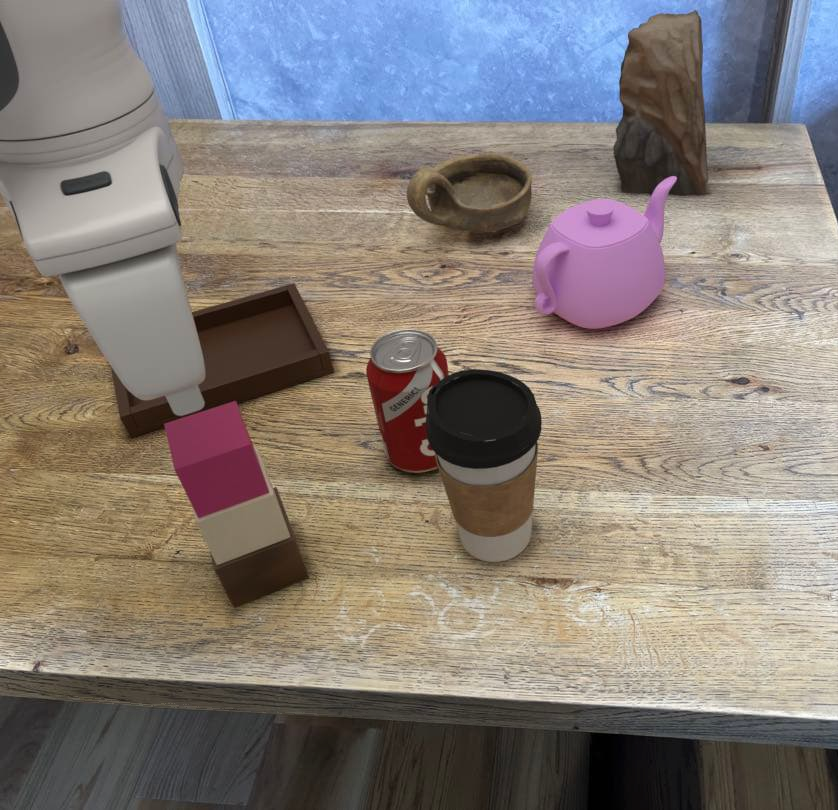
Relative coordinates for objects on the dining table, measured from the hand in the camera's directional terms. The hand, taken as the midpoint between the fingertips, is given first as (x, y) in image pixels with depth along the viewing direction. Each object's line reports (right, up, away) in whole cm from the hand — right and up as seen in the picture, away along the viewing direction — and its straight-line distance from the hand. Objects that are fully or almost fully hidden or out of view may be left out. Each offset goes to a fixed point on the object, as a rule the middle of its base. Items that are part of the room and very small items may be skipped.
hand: (177, 361), depth 52 cm
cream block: (0, -12, +11) cm, 16 cm away
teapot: (+30, +9, +41) cm, 52 cm away
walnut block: (+1, -16, +14) cm, 21 cm away
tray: (-10, +1, +34) cm, 35 cm away
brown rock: (+40, +28, +60) cm, 78 cm away
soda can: (+12, -7, +23) cm, 27 cm away
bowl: (+14, +20, +53) cm, 59 cm away
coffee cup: (+19, -14, +16) cm, 29 cm away
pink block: (0, -8, +8) cm, 11 cm away
